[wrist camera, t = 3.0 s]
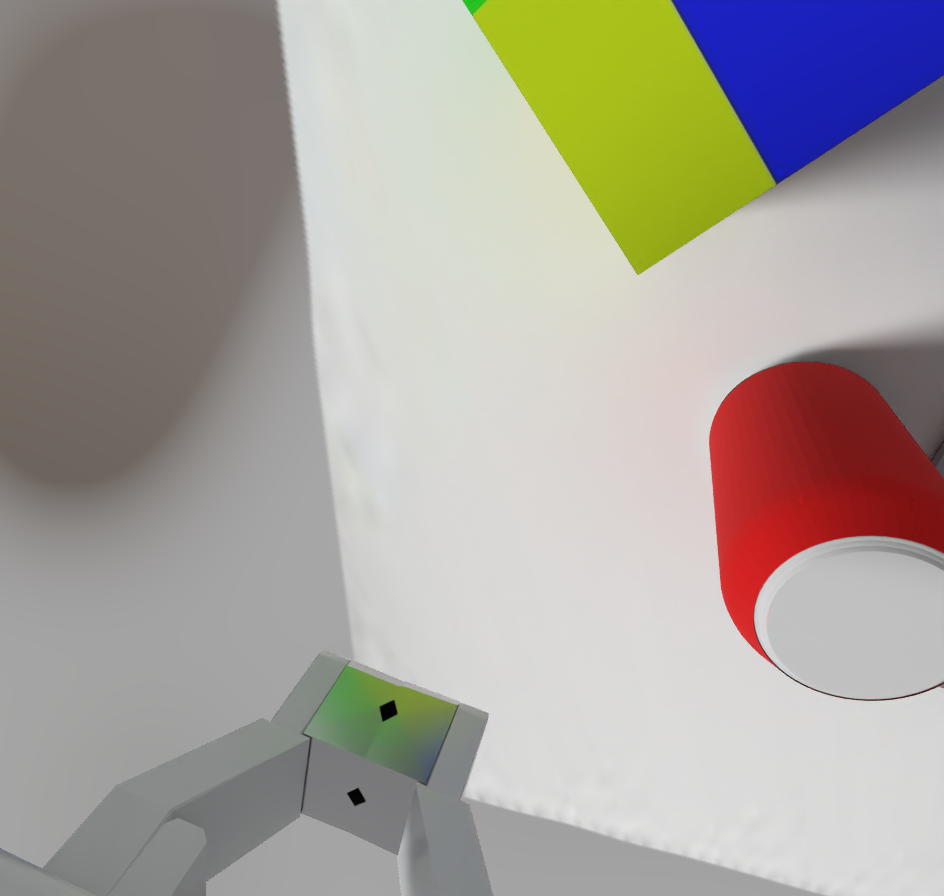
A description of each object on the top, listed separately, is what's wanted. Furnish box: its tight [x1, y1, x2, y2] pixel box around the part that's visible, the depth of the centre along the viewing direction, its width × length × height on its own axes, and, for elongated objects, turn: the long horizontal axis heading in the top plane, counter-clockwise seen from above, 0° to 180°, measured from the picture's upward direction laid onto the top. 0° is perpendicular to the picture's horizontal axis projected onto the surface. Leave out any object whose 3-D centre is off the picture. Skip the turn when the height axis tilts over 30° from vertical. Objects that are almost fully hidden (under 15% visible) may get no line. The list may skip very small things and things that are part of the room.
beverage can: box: [709, 362, 944, 701], centre depth 20 cm, size 6×6×12 cm
